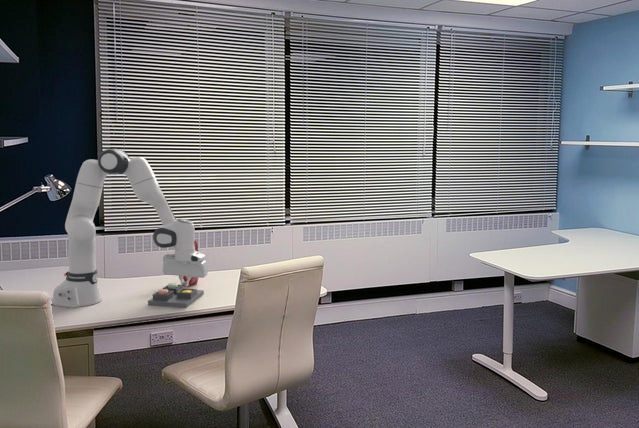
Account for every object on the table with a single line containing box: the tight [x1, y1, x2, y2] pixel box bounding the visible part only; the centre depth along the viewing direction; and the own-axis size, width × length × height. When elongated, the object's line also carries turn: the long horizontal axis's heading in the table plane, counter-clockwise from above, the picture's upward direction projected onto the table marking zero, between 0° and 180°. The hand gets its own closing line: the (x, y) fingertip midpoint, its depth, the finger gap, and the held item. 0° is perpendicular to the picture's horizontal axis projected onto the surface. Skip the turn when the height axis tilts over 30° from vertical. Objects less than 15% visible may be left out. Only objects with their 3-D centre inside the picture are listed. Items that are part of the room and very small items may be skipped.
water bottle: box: [183, 240, 199, 286], centre depth 291 cm, size 12×8×25 cm, turn 72°
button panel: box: [147, 284, 205, 309], centre depth 268 cm, size 18×20×4 cm
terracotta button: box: [157, 288, 168, 295], centre depth 263 cm, size 4×4×2 cm
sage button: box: [167, 282, 179, 288], centre depth 273 cm, size 4×4×2 cm
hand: (185, 285), depth 265 cm, fingers closed
